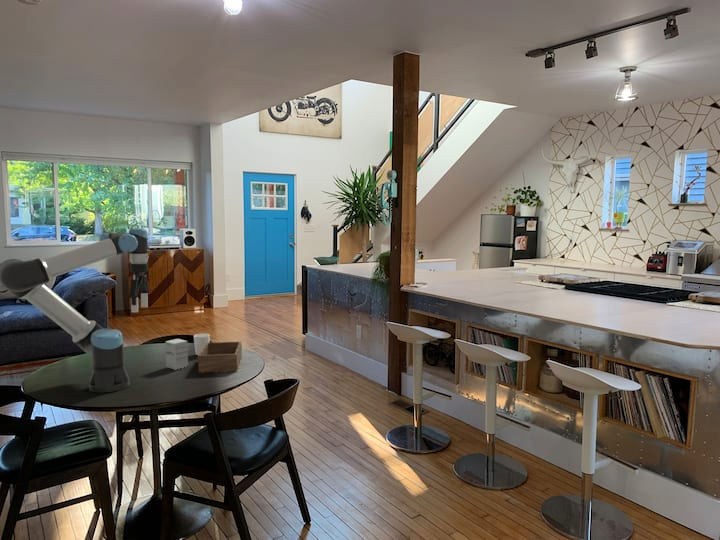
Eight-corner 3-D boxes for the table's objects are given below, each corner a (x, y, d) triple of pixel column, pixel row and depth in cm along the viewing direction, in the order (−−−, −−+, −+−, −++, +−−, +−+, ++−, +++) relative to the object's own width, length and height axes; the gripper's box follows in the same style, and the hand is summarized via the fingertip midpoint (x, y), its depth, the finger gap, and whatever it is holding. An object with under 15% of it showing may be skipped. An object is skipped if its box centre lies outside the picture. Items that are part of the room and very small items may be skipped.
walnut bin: (237, 371, 235) (236, 354, 234) (198, 373, 233) (198, 355, 232) (241, 357, 259) (241, 341, 258) (207, 358, 257) (206, 342, 256)
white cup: (211, 355, 262) (210, 336, 261) (194, 357, 259) (194, 337, 258) (209, 351, 269) (209, 333, 268) (193, 353, 266) (193, 334, 265)
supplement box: (165, 367, 241) (164, 341, 240) (179, 364, 247) (178, 338, 246) (174, 370, 237) (173, 343, 236) (188, 366, 243) (187, 340, 241)
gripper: (138, 265, 220) (139, 314, 222) (155, 261, 244) (156, 305, 246) (120, 265, 219) (121, 314, 221) (139, 260, 244) (140, 305, 246)
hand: (139, 309), depth 234 cm, fingers open, 13 cm apart
